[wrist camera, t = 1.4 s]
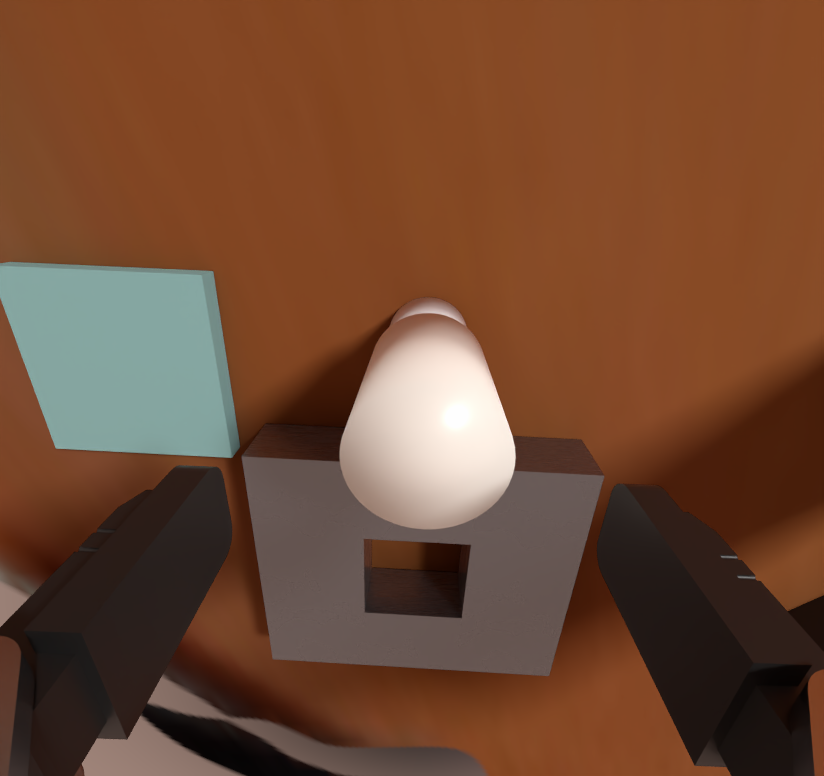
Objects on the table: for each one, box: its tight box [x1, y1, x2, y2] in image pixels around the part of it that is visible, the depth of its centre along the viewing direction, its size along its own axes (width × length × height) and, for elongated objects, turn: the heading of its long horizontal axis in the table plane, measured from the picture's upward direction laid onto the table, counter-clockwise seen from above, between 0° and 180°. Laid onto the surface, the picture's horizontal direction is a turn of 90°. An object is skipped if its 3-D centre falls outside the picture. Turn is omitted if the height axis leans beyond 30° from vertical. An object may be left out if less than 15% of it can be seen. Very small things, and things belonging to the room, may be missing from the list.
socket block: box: [242, 424, 604, 676], centre depth 23 cm, size 16×14×3 cm
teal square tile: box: [0, 262, 240, 458], centre depth 20 cm, size 9×9×1 cm
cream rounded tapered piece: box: [340, 297, 516, 529], centre depth 15 cm, size 4×4×10 cm
